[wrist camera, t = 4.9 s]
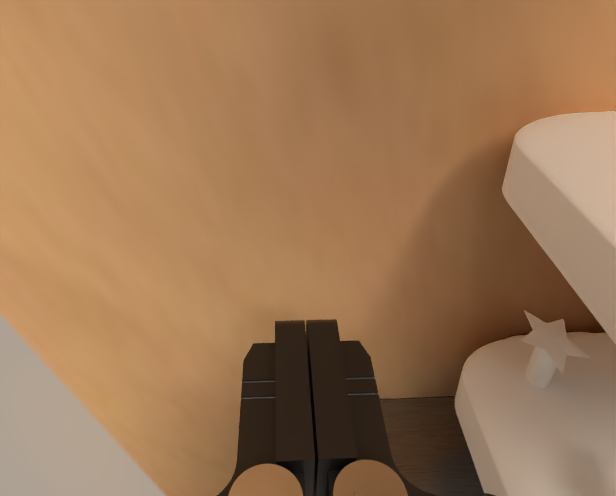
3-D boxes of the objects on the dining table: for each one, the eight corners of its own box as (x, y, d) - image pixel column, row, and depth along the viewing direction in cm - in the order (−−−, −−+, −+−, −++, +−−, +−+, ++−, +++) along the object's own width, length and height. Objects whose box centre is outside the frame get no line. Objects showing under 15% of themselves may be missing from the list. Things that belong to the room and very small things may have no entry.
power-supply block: (302, 402, 19) (309, 544, 15) (708, 387, 20) (822, 517, 16) (301, 480, 23) (307, 612, 18) (646, 464, 23) (726, 587, 19)
